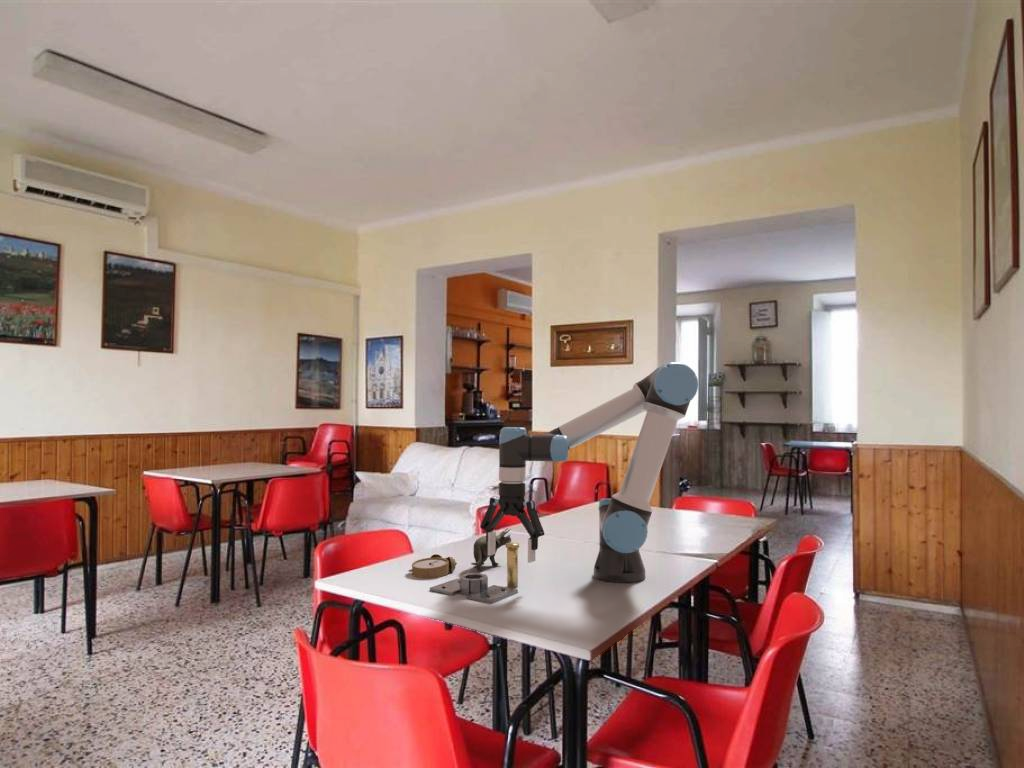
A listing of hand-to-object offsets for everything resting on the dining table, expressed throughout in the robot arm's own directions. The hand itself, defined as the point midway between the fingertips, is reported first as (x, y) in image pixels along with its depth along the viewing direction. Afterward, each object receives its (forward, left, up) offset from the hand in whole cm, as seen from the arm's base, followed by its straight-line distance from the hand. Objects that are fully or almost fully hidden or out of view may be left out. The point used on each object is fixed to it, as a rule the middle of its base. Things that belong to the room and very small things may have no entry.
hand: (511, 558), depth 177 cm
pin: (0, 0, -8) cm, 8 cm away
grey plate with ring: (+6, +10, -8) cm, 14 cm away
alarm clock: (+29, 0, -8) cm, 30 cm away
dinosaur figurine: (+20, -13, -8) cm, 25 cm away
